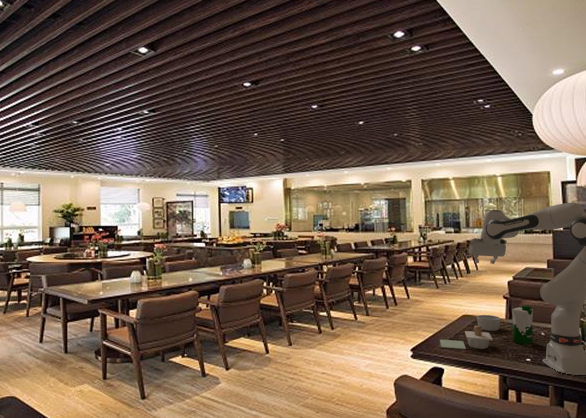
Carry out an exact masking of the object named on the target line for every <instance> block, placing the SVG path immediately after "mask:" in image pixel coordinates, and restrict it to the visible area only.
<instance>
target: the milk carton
mask: <svg viewBox="0 0 586 418" xmlns="http://www.w3.org/2000/svg"><path fill="white" fill-rule="evenodd" d="M531 307H532V306H530V305H522V307H515V308H512V309H511V313H512V342H513V343H515V344H520V345H524V346H527V345H531V344H533V343H534V342H533V315H534V309H531Z"/></svg>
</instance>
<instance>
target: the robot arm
mask: <svg viewBox="0 0 586 418" xmlns="http://www.w3.org/2000/svg"><path fill="white" fill-rule="evenodd" d="M483 218H484V219H483V223H482V229H481V232H480V238H479V237H478V238H476V237H474V238H473V239H471V241H470V245H469V247H468V250H467V252H468V254H469V255H470V256H473V258H474V263H475V264H479V263H480V259H478V258H479V256H480V257H492V259H490V262H489V263H490V264H491V265H494V264H495V263H496V261H497V260H498V258H499V257H504V256H505V255H506V251H507V246H506V245H507V243H508V242H507V241H508V240H506V239H510V238H515V237H516V236H517V237H518V234H519V232H520V231H525V230H535V231H536V230H537V231H538V230H540V231H551V230H558V229H559V230H560V229H564V228H569V229H568V231H569V233H570V236H571V237H572V238H573V239H574V240H576V241H577V242H578V244H579V245H580V246H581V247H582V246H583V248H582V249H581V251H580V252H579V253H578V254H577V255H576V256H575V258H574V259H573V260H572V261H571V262H570V263H569V265H567V267H565V269H563V270H562V271H561V272H559V273H557V274H556V276H554V277H553V278H552V279H550V280H549V281H548V282H546V283H544V284H543V285H542V286H541V287H540V290H539V294H540V297H541V299H542V300H543V302H545V303H546V304H549V305H554V306H555V305H556V307H555V310H553V312H552V314H551V316H550V319H551V320H550V321H551V325H550V326H551V327H550V329H551V330H550V334H549V339H550V341H549V342H548V343H547V344H546V351H545V352H546V354H545V358H543V359H542V363H543V364H545V365H547V366H548V367H549V368H551V369H552V368H553V369H552V370H554V369H555V370H556V371H555V370H554V371H555V372H557V371H558V372H561V373H560V374H562V373H566V374H565V375H567V374H574V375H586V351H585V350H584V346H583V345H582V344H583V343H582V337H581V334H580V320H581V313H582V310H583V306H584V304H585V301H586V212H585V209H584V207H582V205H581V204H579V203H577V202H565V203H558V204H554V205H550V206H548V207H543V208H542V209H540V210H539V209H538V210H537V211H534V212H532V213H528V214H525V215H523V216H519V217H516V218H511V217H509V216H507V215H506V214H505V213H504V212H503V211H502V210H498V209H490V210H487V211H486V213H485V215H484V217H483ZM558 372H557V373H558ZM574 375H573V376H574Z"/></svg>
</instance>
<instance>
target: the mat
mask: <svg viewBox="0 0 586 418" xmlns="http://www.w3.org/2000/svg"><path fill="white" fill-rule="evenodd" d="M439 343H440V348H443V349H445V348H447V349H456V350H457V349H458V350H466V349H467V348H466V345H465V343H464V341H462V340H450V339H439Z"/></svg>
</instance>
